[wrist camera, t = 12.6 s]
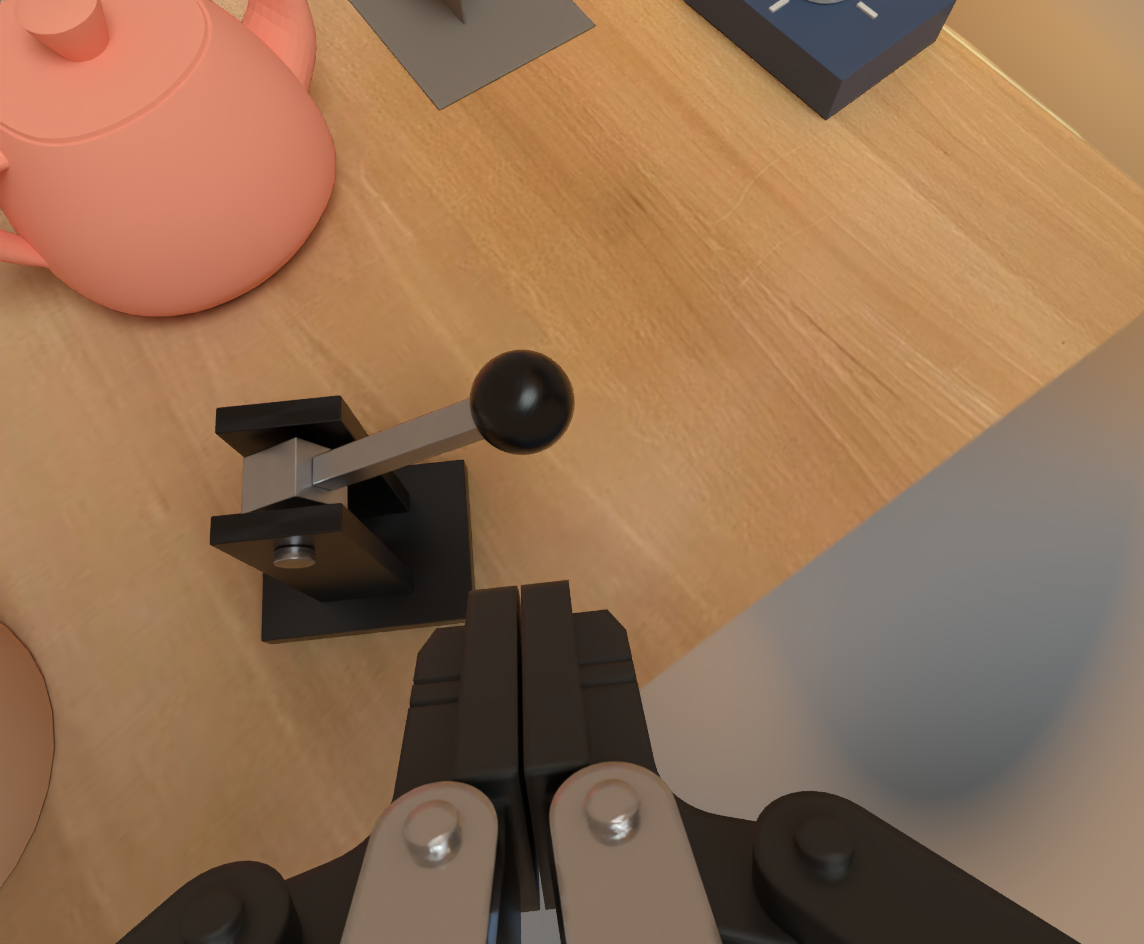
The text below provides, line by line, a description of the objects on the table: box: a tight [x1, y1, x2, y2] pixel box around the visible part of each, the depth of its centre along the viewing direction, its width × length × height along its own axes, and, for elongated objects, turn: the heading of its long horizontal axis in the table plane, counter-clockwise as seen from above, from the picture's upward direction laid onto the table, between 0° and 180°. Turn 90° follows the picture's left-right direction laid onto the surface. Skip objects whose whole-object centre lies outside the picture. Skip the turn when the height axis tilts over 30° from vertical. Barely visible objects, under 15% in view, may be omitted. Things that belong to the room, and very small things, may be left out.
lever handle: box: [241, 350, 575, 513], centre depth 26 cm, size 13×3×3 cm
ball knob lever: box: [210, 396, 475, 644], centre depth 32 cm, size 10×8×13 cm
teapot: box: [0, 0, 336, 317], centre depth 39 cm, size 25×17×13 cm
